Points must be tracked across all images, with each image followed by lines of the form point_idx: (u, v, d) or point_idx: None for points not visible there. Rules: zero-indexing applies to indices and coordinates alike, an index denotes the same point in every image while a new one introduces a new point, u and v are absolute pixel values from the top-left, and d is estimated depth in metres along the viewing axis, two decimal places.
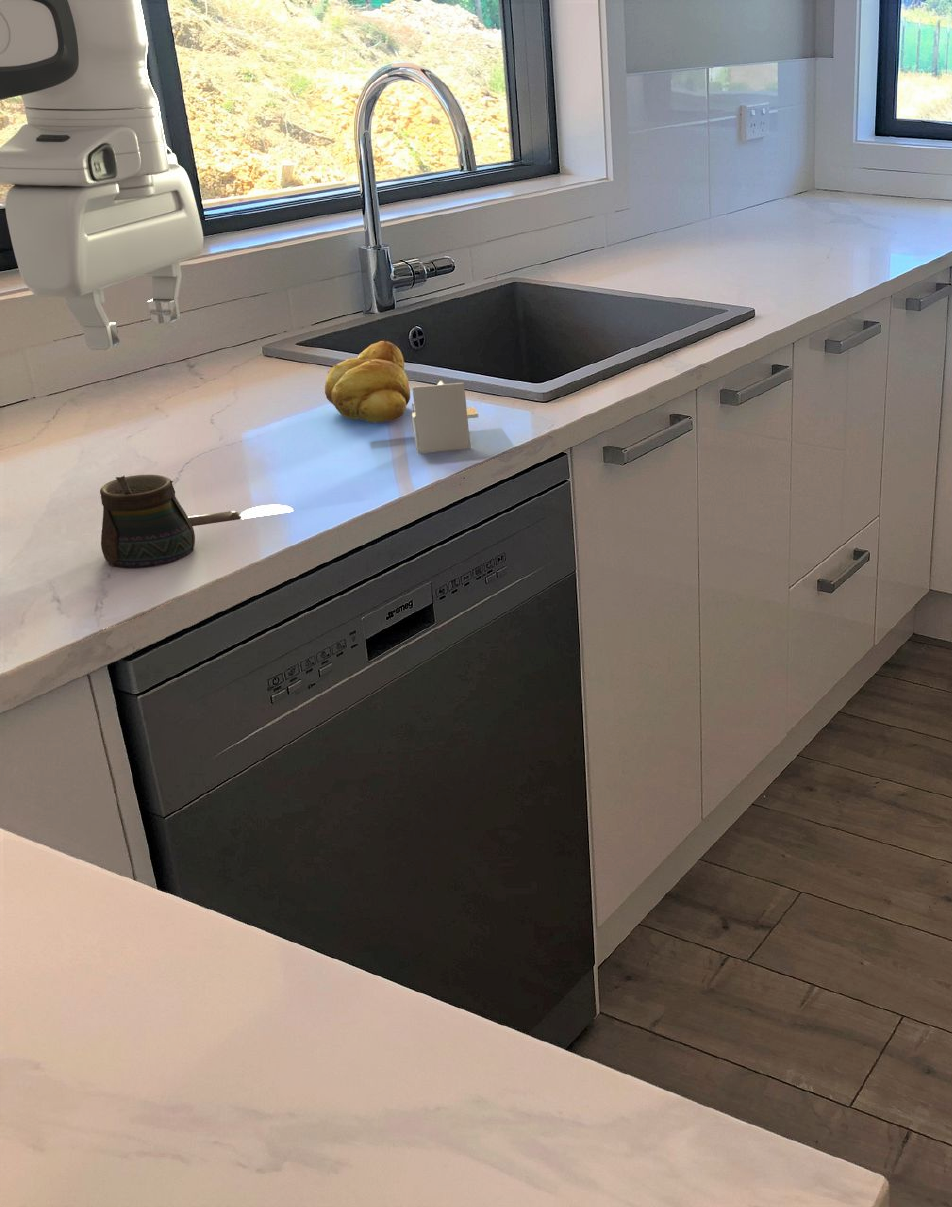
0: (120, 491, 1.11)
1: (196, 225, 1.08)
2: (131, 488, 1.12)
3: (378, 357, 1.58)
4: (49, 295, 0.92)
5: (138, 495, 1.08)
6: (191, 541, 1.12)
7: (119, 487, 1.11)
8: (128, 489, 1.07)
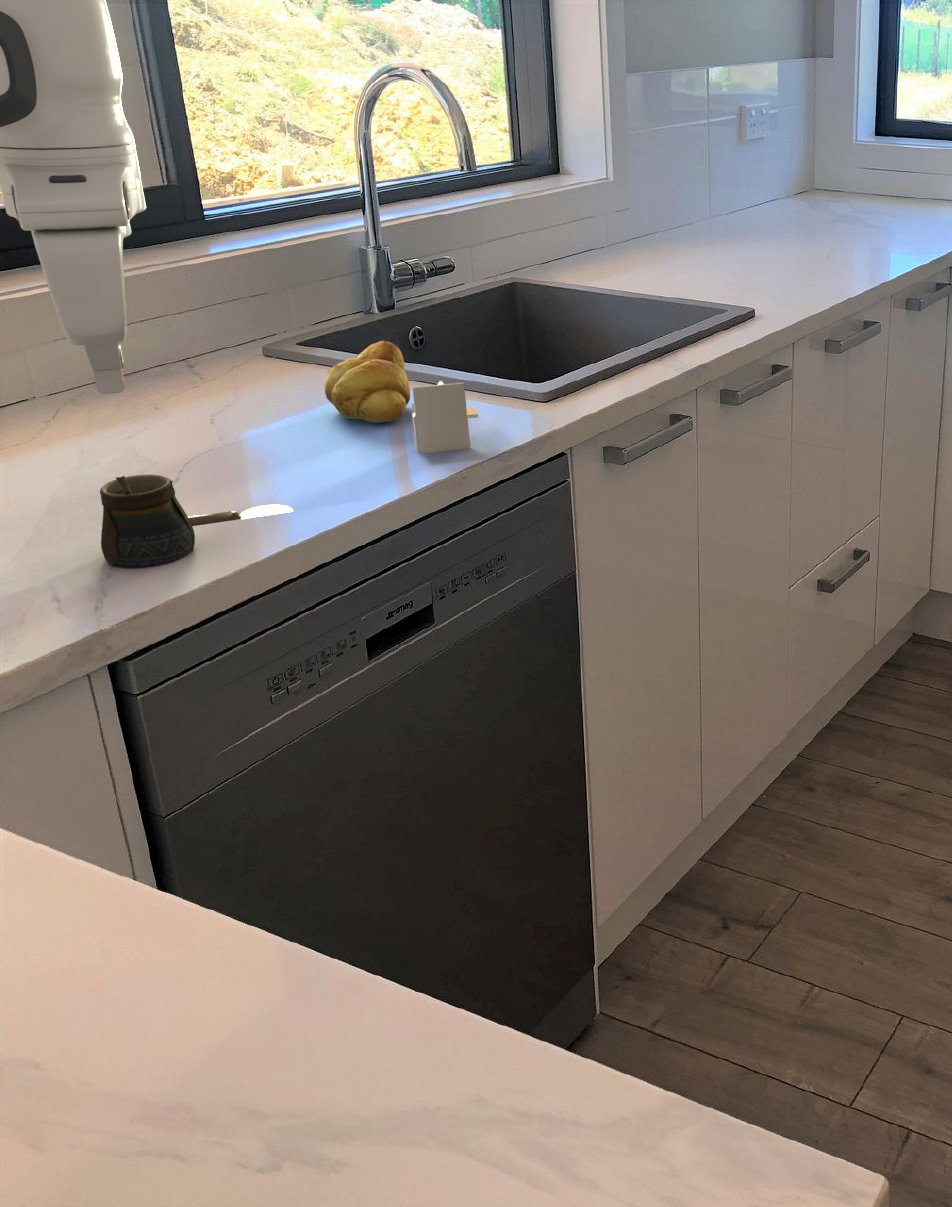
0: (120, 491, 1.11)
1: None
2: (131, 488, 1.12)
3: (378, 357, 1.58)
4: (92, 343, 0.88)
5: (138, 495, 1.08)
6: (191, 541, 1.12)
7: (119, 487, 1.11)
8: (128, 489, 1.07)
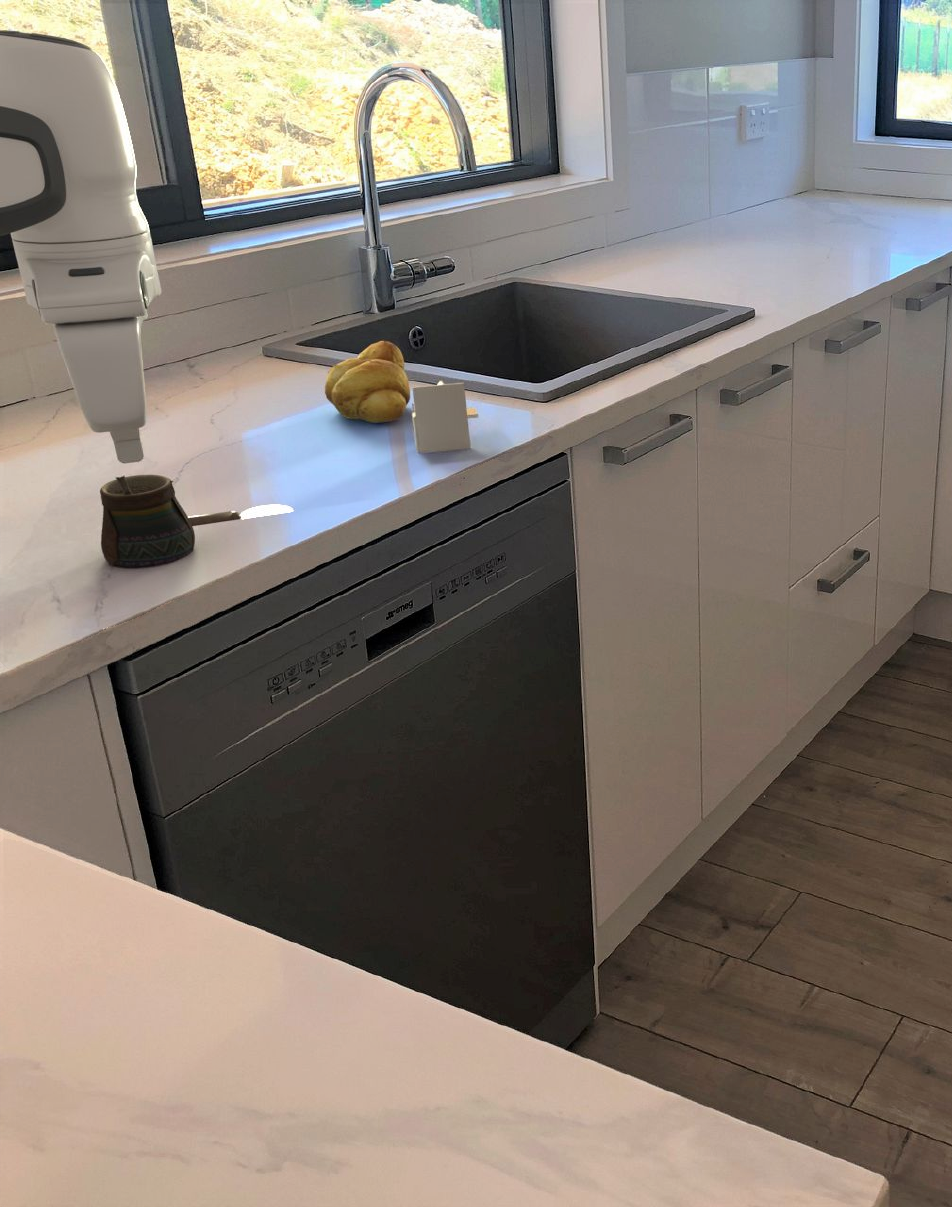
0: (120, 491, 1.11)
1: None
2: (131, 488, 1.12)
3: (378, 357, 1.58)
4: (113, 429, 0.91)
5: (138, 495, 1.08)
6: (191, 541, 1.12)
7: (119, 487, 1.11)
8: (128, 489, 1.07)
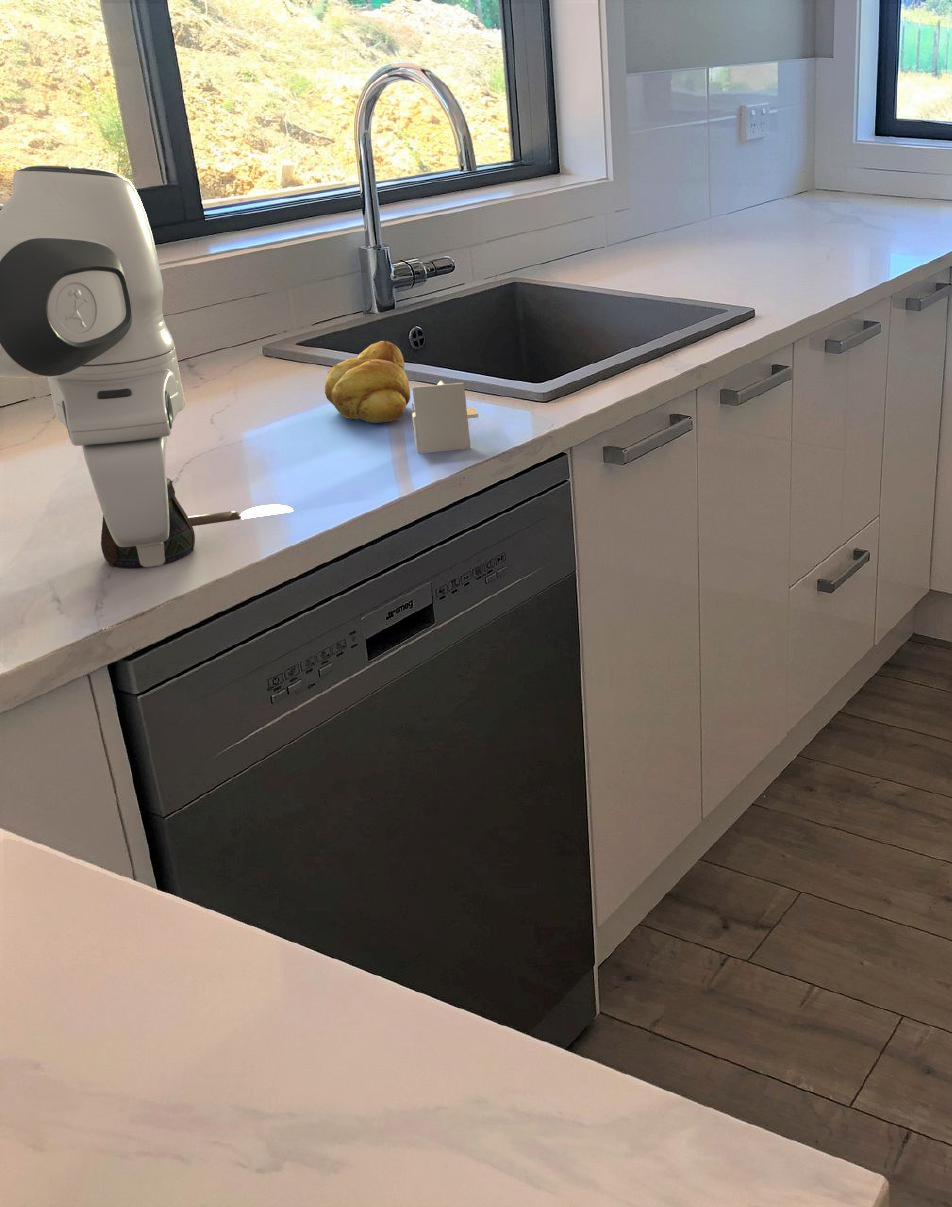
0: None
1: None
2: None
3: (378, 357, 1.58)
4: (137, 544, 0.94)
5: None
6: (191, 541, 1.12)
7: None
8: None
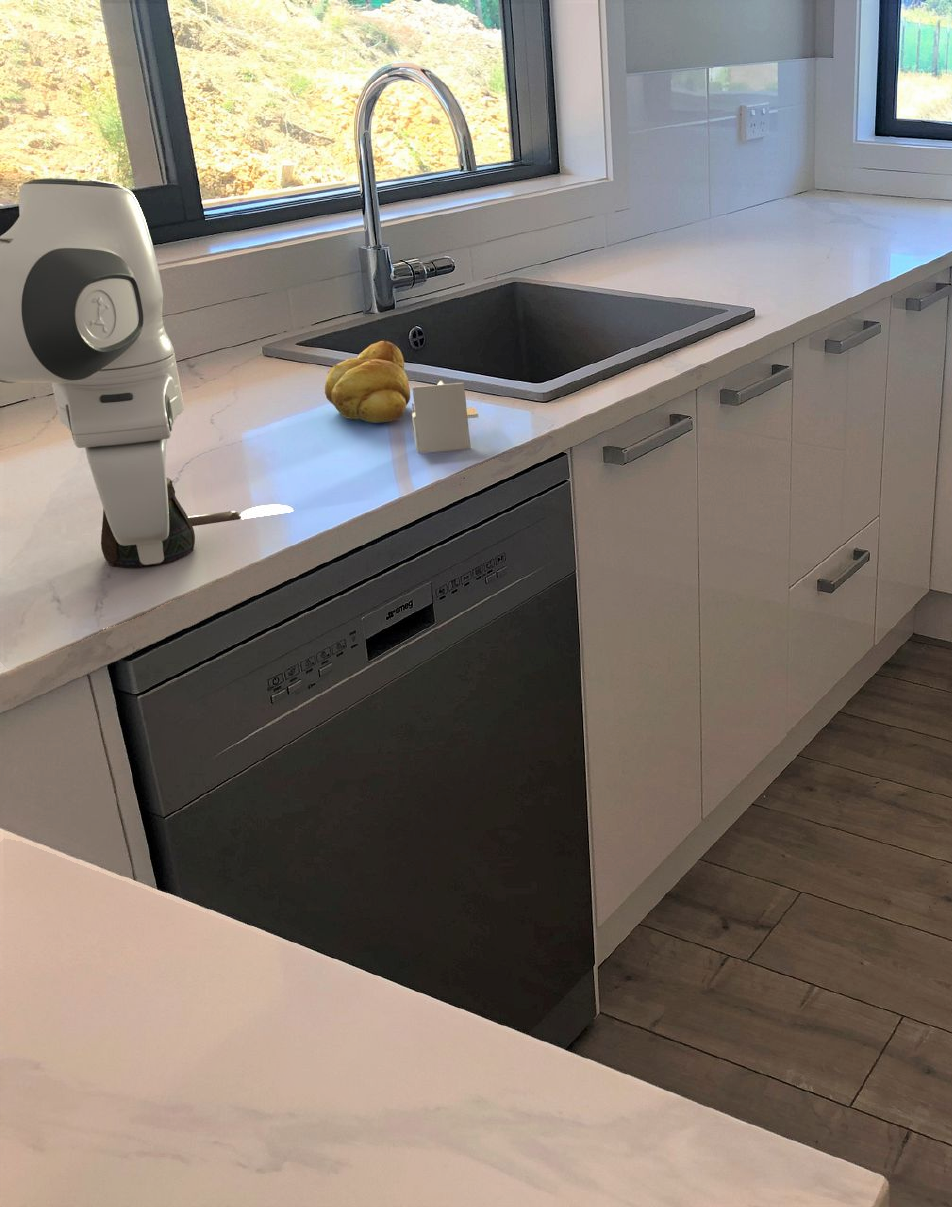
0: None
1: None
2: None
3: (378, 357, 1.58)
4: (138, 543, 0.98)
5: None
6: (191, 541, 1.12)
7: None
8: None
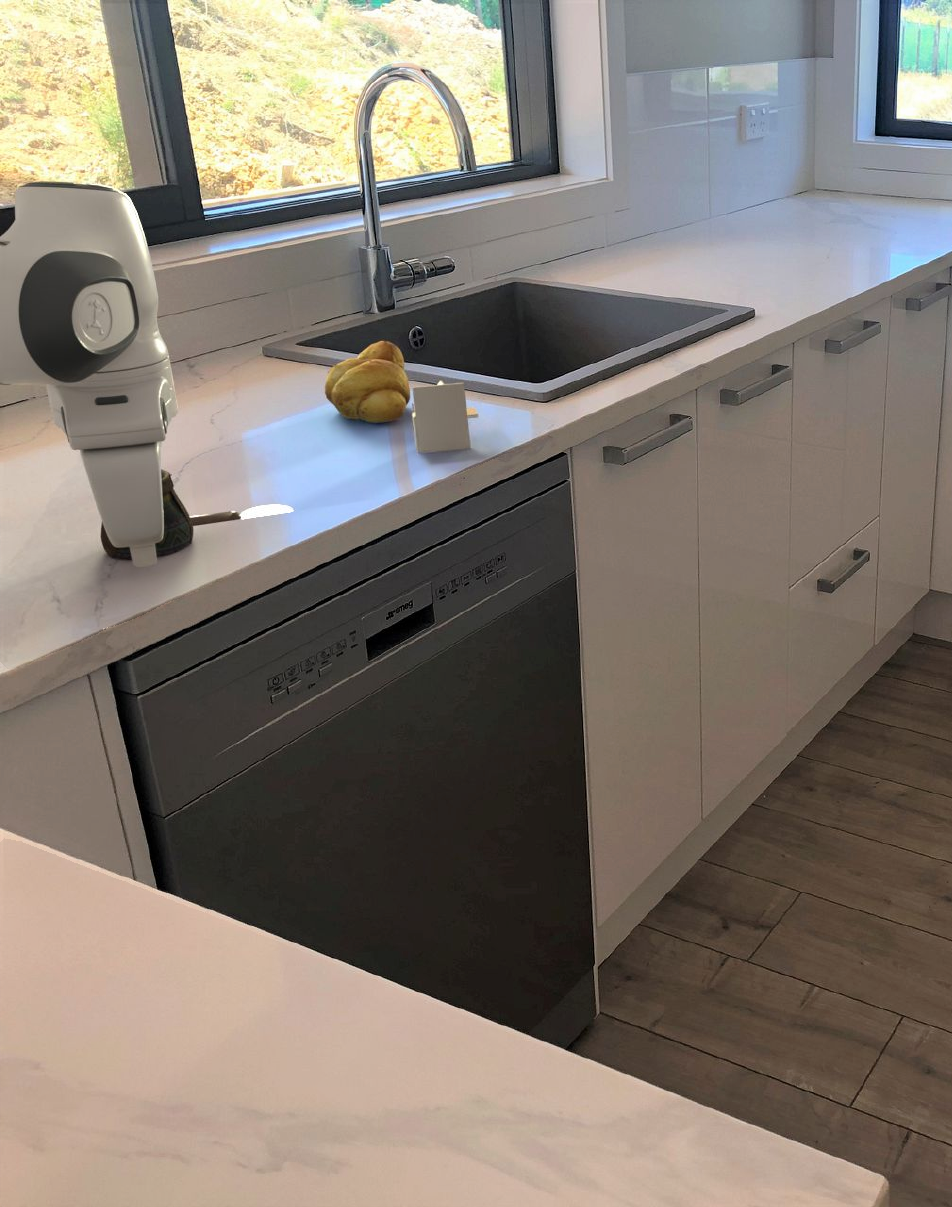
0: None
1: None
2: None
3: (378, 357, 1.58)
4: (133, 545, 0.98)
5: None
6: (189, 534, 1.14)
7: None
8: None
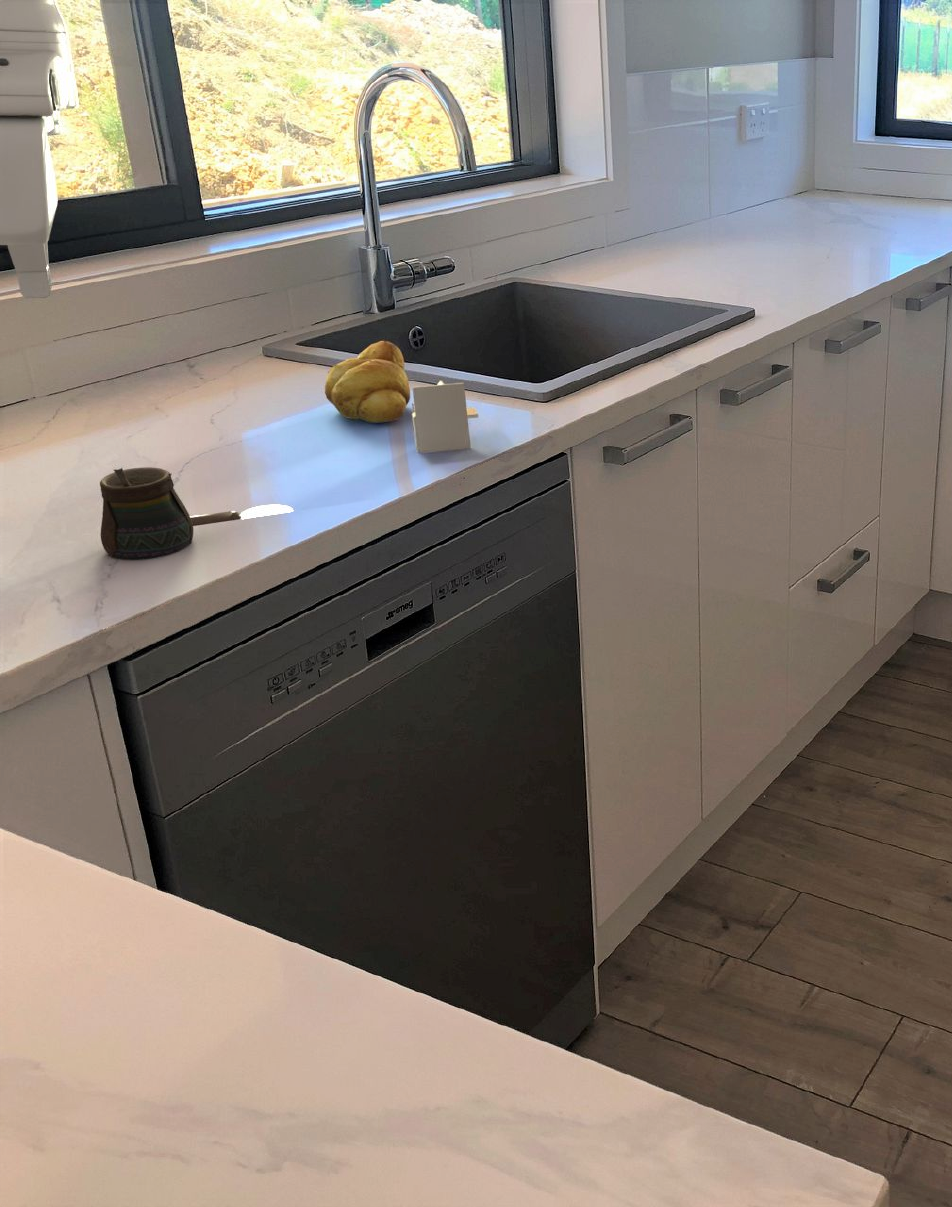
0: (120, 483, 1.13)
1: (53, 173, 0.95)
2: (131, 480, 1.14)
3: (378, 357, 1.58)
4: (10, 242, 0.80)
5: (136, 487, 1.10)
6: (189, 533, 1.14)
7: (119, 479, 1.13)
8: (126, 481, 1.09)
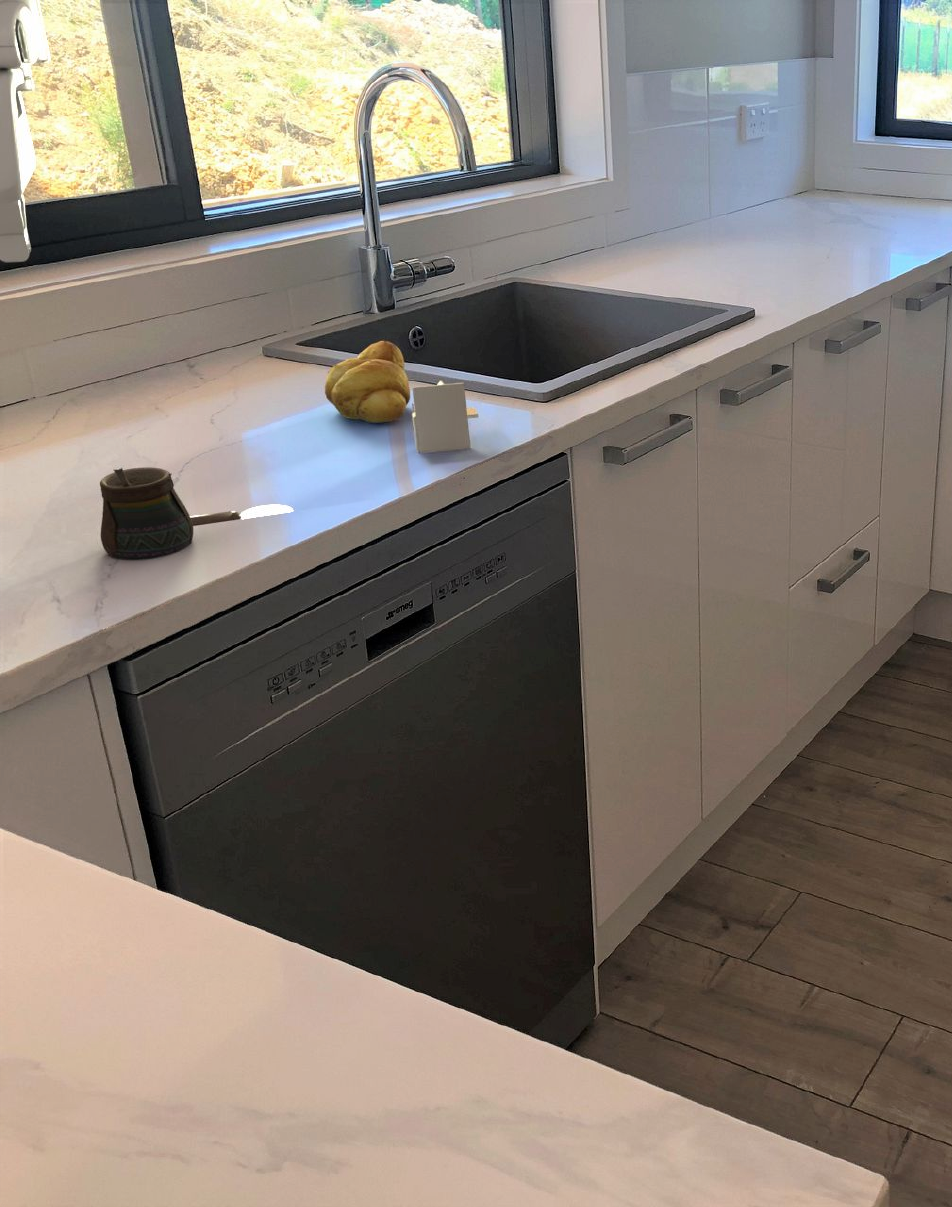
0: (120, 483, 1.13)
1: (29, 134, 0.92)
2: (131, 480, 1.14)
3: (378, 357, 1.58)
4: None
5: (136, 487, 1.10)
6: (189, 533, 1.14)
7: (119, 479, 1.13)
8: (126, 481, 1.09)
